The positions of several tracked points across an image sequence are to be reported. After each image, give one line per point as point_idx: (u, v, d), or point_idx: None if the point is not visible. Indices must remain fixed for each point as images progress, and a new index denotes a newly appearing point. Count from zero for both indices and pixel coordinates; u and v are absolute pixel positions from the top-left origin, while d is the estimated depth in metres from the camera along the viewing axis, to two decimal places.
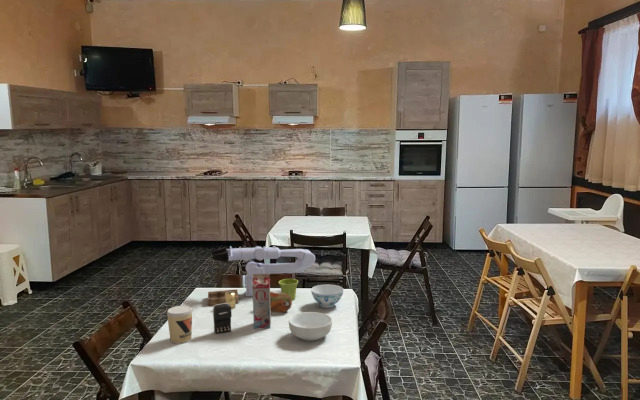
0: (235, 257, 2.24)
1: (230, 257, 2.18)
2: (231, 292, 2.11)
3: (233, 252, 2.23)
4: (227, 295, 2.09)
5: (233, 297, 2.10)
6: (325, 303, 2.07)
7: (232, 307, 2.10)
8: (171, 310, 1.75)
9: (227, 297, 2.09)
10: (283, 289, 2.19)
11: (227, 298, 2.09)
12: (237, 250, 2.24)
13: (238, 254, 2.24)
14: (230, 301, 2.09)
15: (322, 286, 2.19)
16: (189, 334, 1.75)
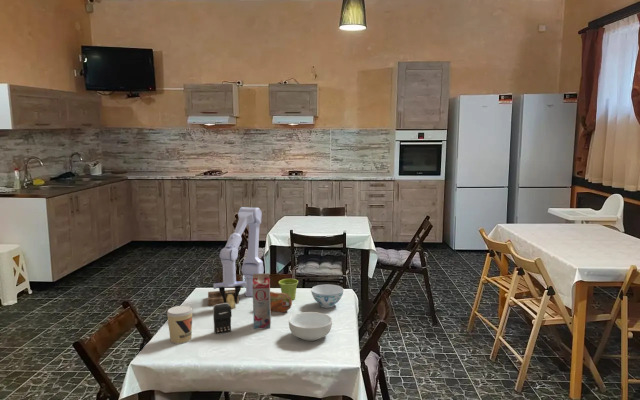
0: None
1: (245, 284, 2.12)
2: (231, 292, 2.11)
3: (235, 282, 2.09)
4: (227, 295, 2.09)
5: (233, 297, 2.10)
6: (325, 303, 2.07)
7: (232, 307, 2.10)
8: (171, 310, 1.75)
9: (227, 297, 2.09)
10: (283, 289, 2.19)
11: (227, 298, 2.09)
12: (233, 278, 2.08)
13: (235, 276, 2.10)
14: (230, 301, 2.09)
15: (322, 286, 2.19)
16: (189, 334, 1.75)
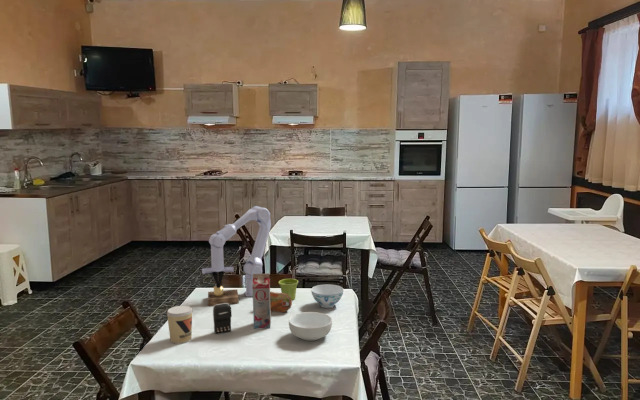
0: None
1: None
2: None
3: (222, 267, 2.18)
4: (216, 289, 2.18)
5: (221, 291, 2.19)
6: (325, 303, 2.07)
7: None
8: (171, 310, 1.75)
9: (215, 291, 2.18)
10: (283, 289, 2.19)
11: (216, 292, 2.18)
12: (221, 263, 2.17)
13: (223, 261, 2.19)
14: (219, 295, 2.18)
15: (322, 286, 2.19)
16: (189, 334, 1.75)
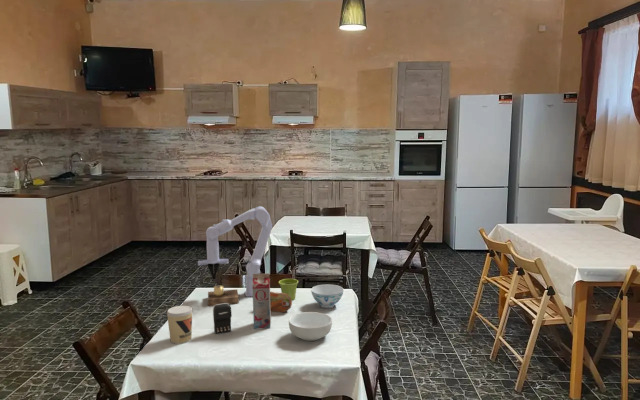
0: None
1: None
2: (220, 286, 2.21)
3: (218, 259, 2.23)
4: (216, 289, 2.18)
5: (222, 291, 2.19)
6: (325, 303, 2.07)
7: None
8: (171, 310, 1.75)
9: (215, 291, 2.18)
10: (283, 289, 2.19)
11: (216, 292, 2.18)
12: (216, 255, 2.22)
13: (218, 253, 2.24)
14: (219, 294, 2.19)
15: (322, 286, 2.19)
16: (189, 334, 1.75)
